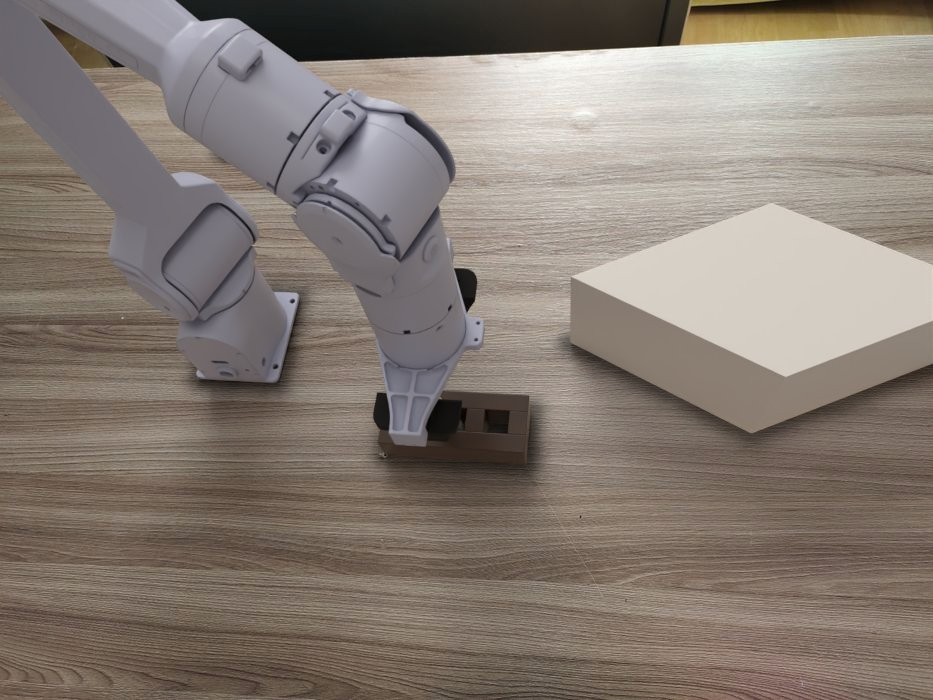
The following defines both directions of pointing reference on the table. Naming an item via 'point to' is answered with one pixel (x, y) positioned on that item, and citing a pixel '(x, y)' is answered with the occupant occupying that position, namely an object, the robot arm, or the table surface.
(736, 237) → the block
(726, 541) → the table surface
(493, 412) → the pen stand
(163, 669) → the table surface
